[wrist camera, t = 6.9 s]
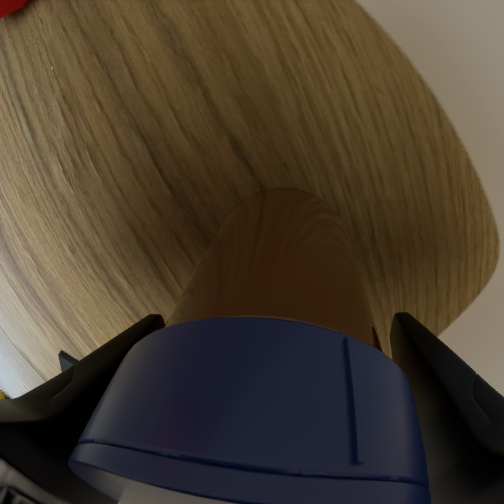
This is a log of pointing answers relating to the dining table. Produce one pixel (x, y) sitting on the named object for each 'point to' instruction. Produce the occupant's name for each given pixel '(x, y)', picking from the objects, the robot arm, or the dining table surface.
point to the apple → (10, 6)
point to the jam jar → (281, 268)
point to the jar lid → (255, 420)
